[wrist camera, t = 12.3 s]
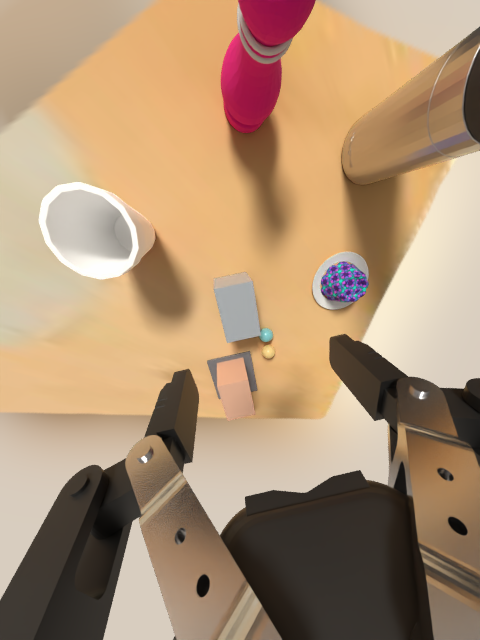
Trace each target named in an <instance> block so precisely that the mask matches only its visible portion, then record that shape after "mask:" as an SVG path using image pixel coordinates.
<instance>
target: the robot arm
mask: <svg viewBox="0 0 480 640" xmlns="http://www.w3.org/2000/svg"><path fill="white" fill-rule="evenodd" d="M476 151H480V27H479V28H477V29H476V30H475V31H473V32H472V33H471V34H470V35H468V36H467V37H466V38H464V39H463V40H462V41H461V42H460V43H458V44H457V45H455V46H454V47H453V48H451V49H450V50H449V51H447V52H446V53H445V54H444V55H442V56H441V57H440V58H438V59H437V60H436V61H434V62H433V63H432V64H430V65H429V66H428V67H427V68H425V69H424V70H423V71H421V72H420V73H419V74H417V75H416V76H415V77H414V78H412V79H411V80H410V81H408V82H407V83H406V84H404V85H403V86H402V87H400V88H399V89H398V90H397V91H395V92H394V93H393V94H391V95H390V96H389V97H387V98H386V99H385V100H383V101H382V102H381V103H379V104H378V105H377V106H376V107H374V108H373V109H372V110H370V111H369V112H368V113H367V114H365V115H364V116H363V117H361V118H360V119H359V120H358V121H357V122H356V123H355V124H354V125H353V126H352V128H351V129H350V131H349V133H348V135H347V137H346V139H345V142H344V146H343V151H342V165H343V169H344V172H345V174H346V176H347V177H348V178H349V179H350V180H351V181H352V182H354V183H356V184H359V185H366V184H370V183H373V182H377V181H380V180H383V179H387V178H391V177H394V176H397V175H401V174H404V173H407V172H411V171H414V170H417V169H421V168H424V167H427V166H431V165H434V164H437V163H441V162H444V161H447V160H451V159H454V158H457V157H460V156H463V155H467V154H470V153H473V152H476ZM329 359H330V364H331V367H332V369H333V370H334V371H335V373H336V374H337V375H338V376H339V378H340V379H341V380H342V381H343V382H344V384H345V385H346V386H347V387H348V389H349V390H350V391H351V392H352V394H353V395H354V396H355V397H356V399H357V400H358V401H359V402H360V403H361V405H362V406H363V407H364V408H365V410H366V411H367V412H368V413H369V415H370V416H371V417H372V418H373V419H374V421H376V420H381V419H385V420H386V421H387V422H388V451H389V477H388V486H387V485H384V484H382V483H378V482H375V481H369V480H366V479H365V478H364V476H363V474H362V473H361V471H360V470H359V471H354V472H350V473H346V474H342V475H337V476H333V477H331V478H329V479H328V480H326V481H324V482H323V483H321V484H320V485H318V486H317V487H315V488H313V489H312V490H310V491H309V492H307V493H297V492H286V491H276V490H272V491H268V492H264V493H260V494H255V495H251V496H246V497H245V504H246V507H245V508H244V509H242V510H241V511H239V512H238V513H237V514H236V515H235V516H234V517H233V518H232V519H231V520H230V521H229V522H228V524H227V525H226V527H225V528H224V529H223V531H222V533H221V535H219V534H218V532H217V530H216V529H215V527H214V525H213V524H212V522H211V520H210V519H209V517H208V516H207V514H206V512H205V510H204V509H203V507H202V505H201V504H200V502H199V500H198V499H197V497H196V495H195V494H194V492H193V491H192V489H191V487H190V485H189V484H188V482H187V481H186V479H185V477H184V476H183V467H184V464H186V463H190V462H192V458H193V450H194V441H195V432H196V422H197V413H198V404H199V393H198V389H197V387H196V384H195V382H194V379H193V377H192V374H191V372H190V370H189V369H186V370H182V371H178V372H175V373H174V375H173V379H172V382H171V383H167V384H166V385H165V386H164V388H163V389H162V390H161V391H160V394H159V397H158V402H157V403H156V405H155V409H154V411H153V414H152V417H151V420H150V423H149V425H148V428H147V431H146V434H145V437H144V438H143V439H141V440H140V441H138V442H137V443H136V444H135V445H134V446H133V447H132V449H131V450H130V452H129V453H128V455H127V458H126V459H124V460H122V461H121V462H118V463H117V464H115V465H113V466H111V467H109V468H107V469H105V470H103V469H102V468H101V467H99V466H98V465H91V466H88V467H86V468H84V469H82V470H80V471H79V472H78V473H76V474H75V475H74V476H73V477H72V478H71V479H70V480H69V481H68V482H67V483H66V484H65V486H64V487H63V489H62V490H61V492H60V494H59V495H58V497H57V499H56V501H55V502H54V504H53V506H52V508H51V510H50V512H49V513H48V515H47V517H46V519H45V520H44V523H43V524H42V526H41V528H40V530H39V532H38V533H37V535H36V537H35V539H34V540H33V542H32V544H31V546H30V548H29V549H28V551H27V553H26V555H25V557H24V558H23V560H22V562H21V564H20V566H19V567H18V569H17V571H16V573H15V575H14V576H13V578H12V580H11V582H10V584H9V586H8V587H7V589H6V591H5V593H4V595H3V597H2V598H1V600H0V640H103V637H104V633H105V629H106V625H107V621H108V617H109V613H110V609H111V605H112V601H113V597H114V593H115V589H116V585H117V581H118V577H119V573H120V569H121V565H122V561H123V557H124V553H125V549H126V545H127V541H128V537H129V533H130V529H131V525H132V521H133V520H135V519H136V518H138V517H140V518H139V523H140V527H141V531H142V534H143V537H144V540H145V543H146V546H147V549H148V552H149V556H150V559H151V562H152V565H153V568H154V571H155V574H156V577H157V580H158V583H159V587H160V590H161V593H162V596H163V599H164V602H165V605H166V608H167V611H168V615H169V618H170V621H171V624H172V627H173V630H174V633H175V637H174V639H173V640H480V378H476V379H471V380H469V381H468V382H467V383H466V386H465V388H464V389H457V388H439V387H438V386H436V385H435V384H433V383H431V382H429V381H427V380H425V379H421V378H417V377H408V376H407V375H405V374H404V373H403V372H402V371H400V370H399V369H398V368H397V367H395V366H394V365H393V364H391V363H390V362H389V361H387V360H386V359H385V358H383V357H382V356H381V355H380V354H379V353H377V352H375V351H374V350H373V349H372V348H371V347H369V346H368V345H366V344H364V343H362V342H359V341H354V340H352V339H351V338H350V337H349V336H347V335H346V334H343V335H338V336H334V337H331V338H330V354H329Z"/></svg>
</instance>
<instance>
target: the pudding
mask: <svg viewBox="0 0 480 640" xmlns="http://www.w3.org/2000/svg"><path fill="white" fill-rule="evenodd" d="M341 261H347V262H350V263H352V264H350V265H349V264H348V263H347V262H341ZM337 262H339V263H338V264H337V265H336V266H335V265H333V264H335V263H337ZM353 264H354V265H355V266H354V265H353ZM330 266H331V267H330ZM327 269H328V270H327ZM326 270H327V273H326V275H324V276H323V274H324V273H325V271H326ZM322 276H323V277H322ZM368 276H369V270H368V266H367V263H366V261H365V260H364V259H363V258H362V257H361V256H360V255H358V254H356V253H353V252H341V253H338V254H335V255H333V256H332V257H330V258H329V259H327V260H326V261H325V262H324V263H323V264H322V265H321V266H320V268H319V269H318V271H317V273H316V274H315V277H314V280H313V288H312V290H313V295H314V298H315V300H316V301H317V303H318V304H319V305H321V306H322V307H324V308H326V309H331V310H336V309H341V308H344V307H346V306H348V305H350V304H352V303H353V302H355V301H357V300H358V299H359V298H360V297H362V296H363V295H364V294H365V293H366V289H367V287H368V285H369V284H368ZM321 278H322V279H321ZM320 282H321V284H322V288H321V290H320ZM322 294H323V295H326V296H327V298H328V299H329V300H328V299H326V298H325V297H324V296H323V295H322ZM330 300H332V301H330Z"/></svg>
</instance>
